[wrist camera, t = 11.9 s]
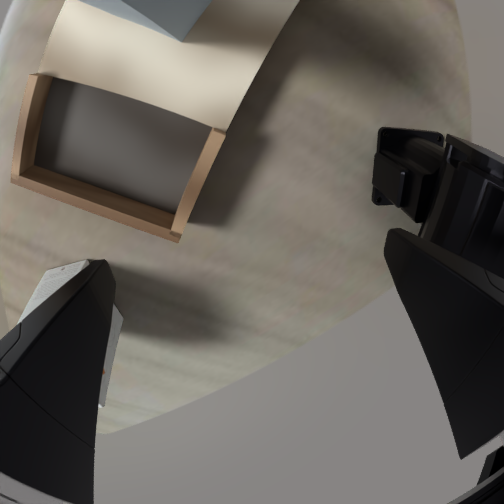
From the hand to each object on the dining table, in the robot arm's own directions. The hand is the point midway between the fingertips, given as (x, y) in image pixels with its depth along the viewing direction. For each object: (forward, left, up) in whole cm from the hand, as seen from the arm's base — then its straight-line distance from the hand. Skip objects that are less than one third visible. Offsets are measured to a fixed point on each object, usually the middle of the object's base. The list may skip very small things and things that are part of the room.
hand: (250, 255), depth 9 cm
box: (+3, -11, -13) cm, 17 cm away
